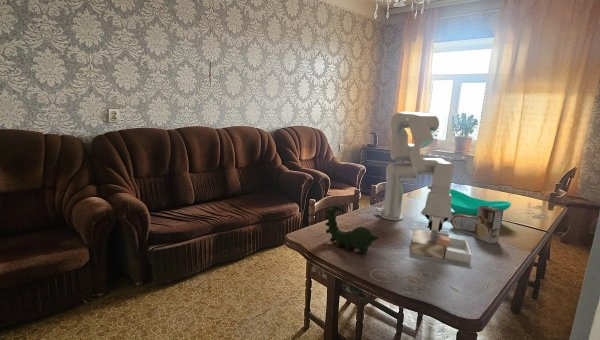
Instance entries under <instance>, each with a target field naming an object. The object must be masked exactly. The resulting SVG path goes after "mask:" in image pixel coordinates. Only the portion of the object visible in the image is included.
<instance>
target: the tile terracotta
mask: <svg viewBox="0 0 600 340" xmlns="http://www.w3.org/2000/svg"><path fill="white" fill-rule="evenodd" d="M449 237H450V236H449ZM449 237H447V236H443V235H439V234H438V238H437V242H436V244H440V245H444V246H448V247H449V244H450V238H449Z"/></svg>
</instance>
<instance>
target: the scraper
mask: <svg viewBox="0 0 600 340" xmlns="http://www.w3.org/2000/svg"><path fill="white" fill-rule="evenodd" d="M440 220H441V217H438V216H432V229H431V230H430V232H431V236H432V241H436V242H437V238H438V234H437V231H438V229H439V224H440Z"/></svg>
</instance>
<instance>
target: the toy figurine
mask: <svg viewBox="0 0 600 340" xmlns="http://www.w3.org/2000/svg"><path fill="white" fill-rule="evenodd" d="M338 211H341V212H342V213H344V212H345V210H344V208H343V207H342V206H341V205H334V206H332V207H331V208H328V210H326V211H325V214H327V216H325V219H326V220H327V222H326V223H325V224H324V225H325V226H326V227H328V228H327V229H326V230H325V233H327V234H331V237H330V239H329V241H330V242H331V243H334V242H335V241H336V246H337V248H341V247H343V246H344V248H345V250H347V251H348V250H351V249H352V248H355V249H358V252H359V253H360V254H361V255H365V254H366V253H367V252H368V251H369V247H370V246H371V245H372V243H373V241H377V240H378V239H379V237H378V236H376V235H374V234H373V233H372V232H371V230H370V229H368V228H367V227H365V226H357V227H355V228H353V229H352V230H348V231H343V230H340V228H339V226H338V221H337V220H336V219H337V216H336V212H338Z"/></svg>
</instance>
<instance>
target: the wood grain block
mask: <svg viewBox="0 0 600 340" xmlns="http://www.w3.org/2000/svg"><path fill="white" fill-rule="evenodd" d="M444 251H445V246H444V245H440V244H436V241H432V236H431V231H426V230H421V229H415V228H413V229H412V236H411V245H410V253H414V254H418V255H423V256H427V257H434V258H437V259H445V258H444Z"/></svg>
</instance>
